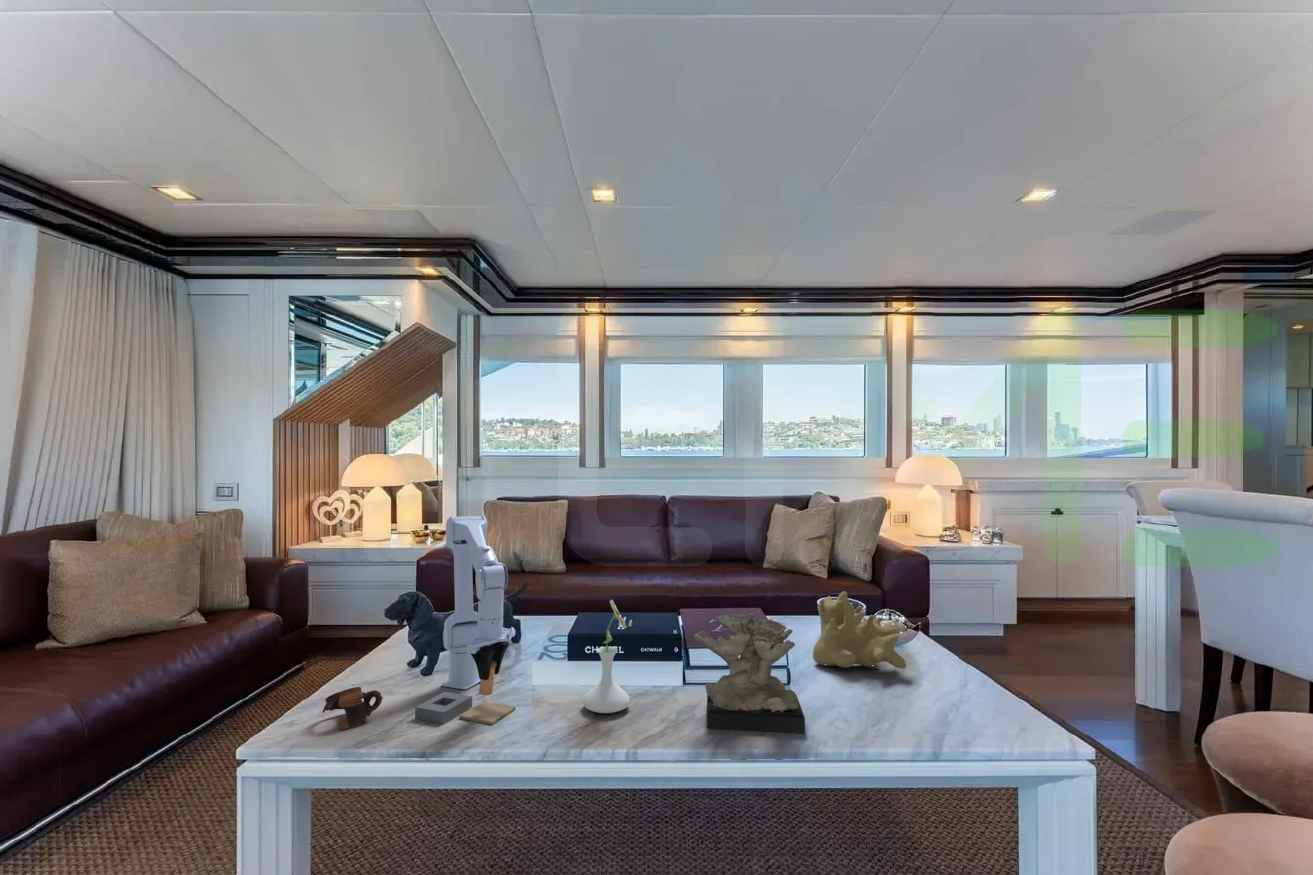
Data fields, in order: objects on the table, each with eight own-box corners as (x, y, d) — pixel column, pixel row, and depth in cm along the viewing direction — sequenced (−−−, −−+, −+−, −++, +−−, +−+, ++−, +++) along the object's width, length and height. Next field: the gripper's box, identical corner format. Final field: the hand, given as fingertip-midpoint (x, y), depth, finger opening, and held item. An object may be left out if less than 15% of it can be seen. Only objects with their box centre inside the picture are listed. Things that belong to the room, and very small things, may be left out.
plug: (483, 689, 140) (487, 658, 140) (495, 692, 139) (499, 661, 139) (474, 693, 136) (478, 662, 137) (487, 696, 135) (491, 665, 136)
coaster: (483, 703, 143) (483, 701, 143) (515, 709, 140) (515, 706, 140) (459, 718, 135) (459, 715, 135) (492, 724, 132) (492, 722, 132)
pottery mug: (323, 737, 126) (317, 698, 129) (332, 739, 134) (325, 702, 137) (384, 713, 131) (376, 676, 134) (389, 717, 139) (381, 682, 142)
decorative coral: (783, 614, 187) (848, 567, 185) (824, 663, 190) (887, 617, 188) (806, 659, 162) (881, 605, 159) (852, 715, 165) (926, 662, 163)
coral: (690, 727, 132) (691, 629, 133) (696, 693, 152) (696, 608, 153) (805, 735, 128) (805, 635, 129) (795, 699, 148) (795, 612, 150)
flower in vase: (623, 720, 135) (624, 609, 136) (575, 715, 137) (577, 606, 138) (636, 698, 148) (637, 597, 149) (592, 694, 150) (594, 594, 151)
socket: (444, 702, 144) (444, 691, 144) (471, 706, 141) (472, 696, 141) (414, 718, 135) (415, 706, 135) (443, 723, 132) (444, 712, 132)
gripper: (486, 626, 130) (484, 689, 130) (522, 611, 144) (521, 668, 143) (459, 623, 133) (457, 685, 132) (497, 609, 146) (496, 665, 146)
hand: (489, 676), depth 138 cm, fingers closed on plug, 3 cm apart
